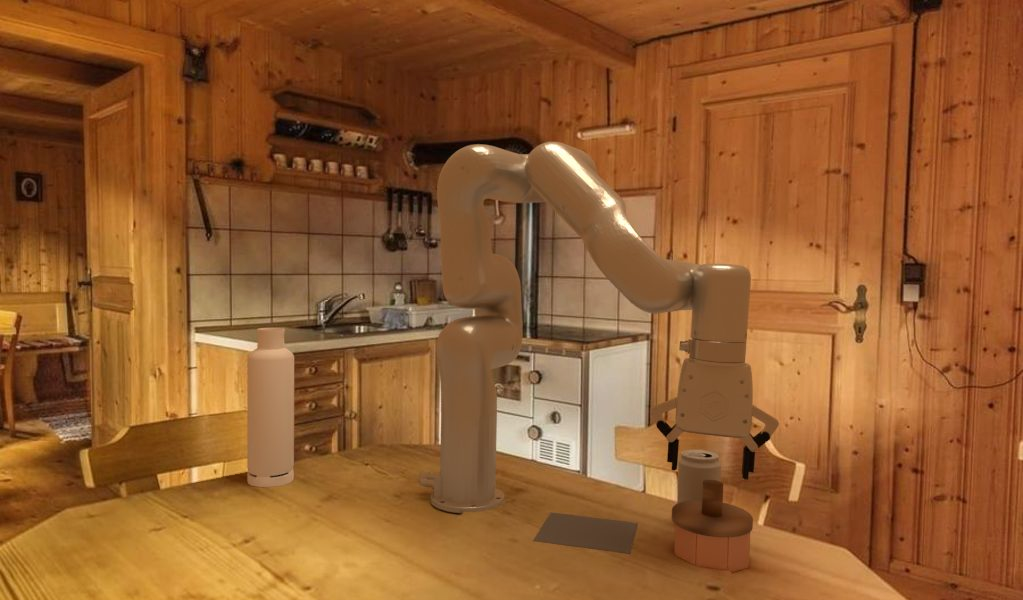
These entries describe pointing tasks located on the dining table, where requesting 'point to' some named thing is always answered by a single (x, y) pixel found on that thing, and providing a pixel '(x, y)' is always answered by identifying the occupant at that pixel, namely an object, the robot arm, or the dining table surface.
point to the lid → (712, 514)
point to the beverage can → (696, 473)
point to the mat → (587, 532)
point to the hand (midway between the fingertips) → (709, 472)
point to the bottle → (270, 410)
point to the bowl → (713, 550)
